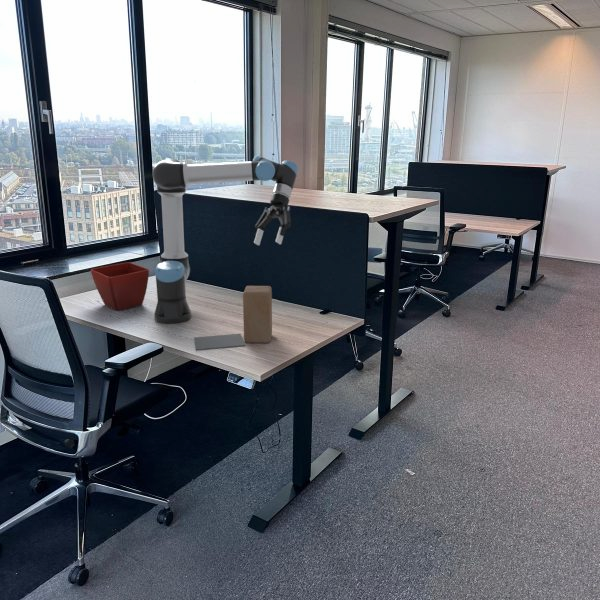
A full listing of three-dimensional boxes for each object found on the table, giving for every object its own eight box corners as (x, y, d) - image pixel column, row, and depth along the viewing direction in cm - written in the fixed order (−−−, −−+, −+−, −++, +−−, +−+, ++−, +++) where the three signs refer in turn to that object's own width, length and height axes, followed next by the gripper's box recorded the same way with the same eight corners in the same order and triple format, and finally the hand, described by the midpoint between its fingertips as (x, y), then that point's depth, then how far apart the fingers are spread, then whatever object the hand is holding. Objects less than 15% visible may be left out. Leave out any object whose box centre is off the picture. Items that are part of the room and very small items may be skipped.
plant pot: (113, 314, 229) (109, 277, 224) (93, 304, 242) (89, 268, 237) (152, 305, 242) (149, 269, 237) (132, 296, 255) (129, 262, 250)
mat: (196, 350, 193) (196, 349, 193) (193, 338, 204) (193, 337, 204) (245, 345, 197) (245, 344, 197) (240, 334, 208) (240, 333, 208)
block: (270, 343, 199) (269, 292, 193) (243, 343, 200) (242, 292, 193) (272, 334, 209) (271, 285, 203) (246, 333, 209) (245, 284, 203)
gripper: (307, 198, 217) (294, 246, 213) (267, 203, 235) (254, 247, 230) (295, 189, 212) (281, 238, 208) (255, 195, 230) (241, 240, 225)
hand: (267, 243), depth 219 cm, fingers open, 13 cm apart
